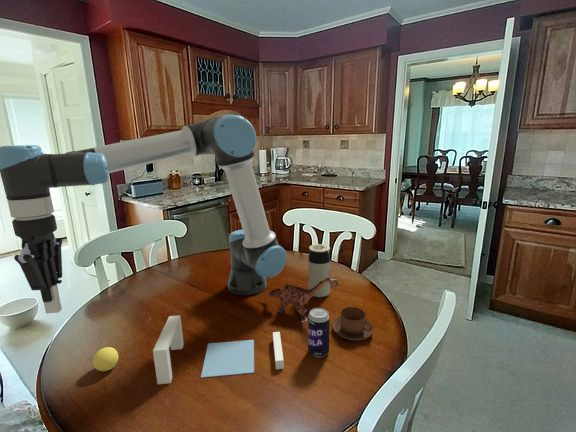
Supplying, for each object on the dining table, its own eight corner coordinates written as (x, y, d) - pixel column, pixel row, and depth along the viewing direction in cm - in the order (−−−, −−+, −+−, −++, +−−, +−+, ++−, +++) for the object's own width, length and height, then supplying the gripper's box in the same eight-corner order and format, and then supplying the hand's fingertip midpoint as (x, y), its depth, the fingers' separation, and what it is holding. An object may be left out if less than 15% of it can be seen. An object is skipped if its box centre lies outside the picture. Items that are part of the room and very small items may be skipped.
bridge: (183, 344, 89) (180, 315, 87) (170, 383, 75) (166, 349, 73) (172, 345, 89) (169, 316, 86) (157, 384, 75) (152, 350, 72)
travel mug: (305, 295, 115) (305, 249, 111) (312, 286, 122) (312, 242, 118) (326, 299, 112) (327, 252, 108) (332, 289, 119) (332, 245, 115)
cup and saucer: (374, 324, 97) (375, 306, 96) (371, 348, 86) (372, 328, 85) (336, 317, 101) (336, 300, 100) (328, 340, 90) (328, 321, 89)
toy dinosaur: (334, 331, 94) (335, 285, 90) (251, 308, 107) (249, 268, 104) (343, 317, 101) (344, 274, 97) (264, 297, 114) (262, 259, 111)
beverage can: (306, 346, 87) (306, 307, 84) (326, 344, 88) (327, 306, 85) (309, 360, 82) (309, 319, 79) (331, 358, 82) (331, 318, 79)
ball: (123, 359, 83) (120, 341, 82) (114, 375, 78) (110, 355, 76) (101, 361, 83) (97, 343, 81) (90, 377, 77) (86, 357, 76)
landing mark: (253, 340, 90) (253, 339, 90) (254, 372, 78) (254, 372, 78) (208, 344, 89) (208, 343, 89) (200, 377, 76) (200, 377, 76)
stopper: (279, 339, 90) (279, 331, 90) (283, 368, 79) (283, 360, 78) (273, 339, 90) (272, 332, 90) (275, 369, 79) (275, 360, 78)
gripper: (35, 210, 75) (54, 299, 81) (-9, 224, 63) (17, 328, 68) (68, 209, 76) (84, 297, 82) (31, 223, 63) (53, 325, 69)
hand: (54, 311), depth 75 cm, fingers closed
